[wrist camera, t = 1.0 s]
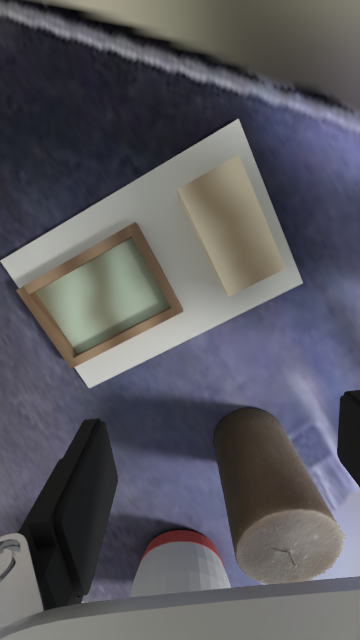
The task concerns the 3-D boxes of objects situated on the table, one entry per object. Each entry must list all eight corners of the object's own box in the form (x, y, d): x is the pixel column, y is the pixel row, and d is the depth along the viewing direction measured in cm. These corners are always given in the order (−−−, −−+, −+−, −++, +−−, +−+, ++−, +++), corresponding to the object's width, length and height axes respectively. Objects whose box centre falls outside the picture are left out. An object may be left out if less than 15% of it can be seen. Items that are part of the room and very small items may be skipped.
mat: (237, 121, 25) (238, 118, 25) (300, 282, 30) (302, 283, 29) (2, 260, 29) (0, 260, 28) (90, 386, 33) (89, 388, 33)
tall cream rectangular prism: (230, 168, 26) (239, 153, 22) (271, 265, 28) (285, 268, 25) (177, 197, 27) (177, 189, 23) (222, 290, 29) (229, 296, 25)
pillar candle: (201, 425, 35) (217, 552, 20) (267, 395, 34) (334, 509, 19) (230, 474, 37) (263, 619, 23) (293, 449, 36) (370, 585, 22)
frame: (137, 223, 27) (135, 221, 26) (183, 308, 30) (183, 311, 28) (24, 288, 29) (15, 290, 28) (76, 363, 32) (71, 368, 30)
